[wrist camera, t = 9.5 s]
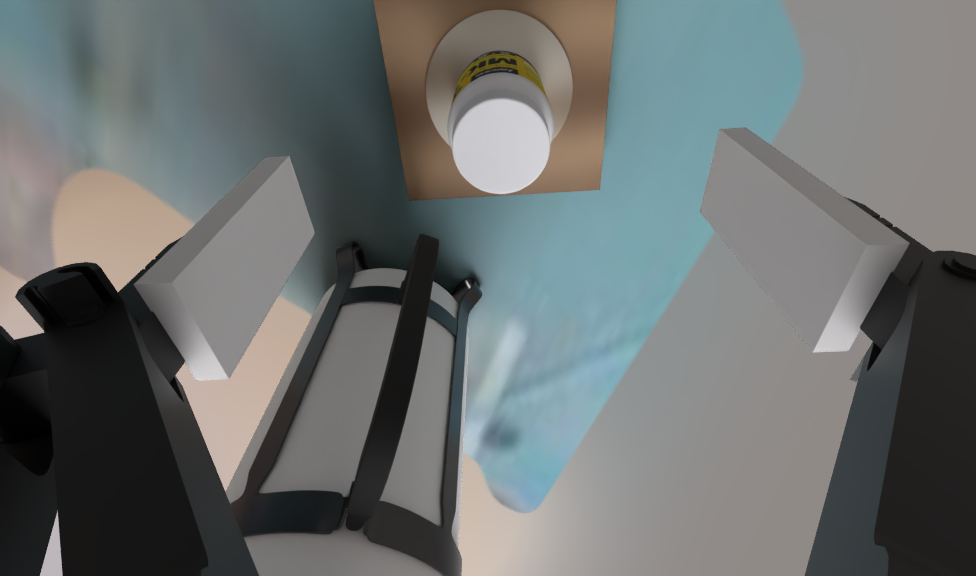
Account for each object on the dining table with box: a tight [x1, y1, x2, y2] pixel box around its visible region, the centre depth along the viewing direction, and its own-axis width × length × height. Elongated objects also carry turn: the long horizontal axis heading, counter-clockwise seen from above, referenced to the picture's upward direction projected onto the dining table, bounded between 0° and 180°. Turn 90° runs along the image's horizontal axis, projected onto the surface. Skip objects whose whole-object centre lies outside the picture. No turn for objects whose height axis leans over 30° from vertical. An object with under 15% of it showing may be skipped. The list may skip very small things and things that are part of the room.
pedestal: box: [373, 0, 617, 201], centre depth 26 cm, size 12×12×3 cm
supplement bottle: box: [447, 50, 554, 194], centre depth 22 cm, size 5×5×8 cm
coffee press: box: [225, 234, 482, 576], centre depth 25 cm, size 17×16×30 cm
